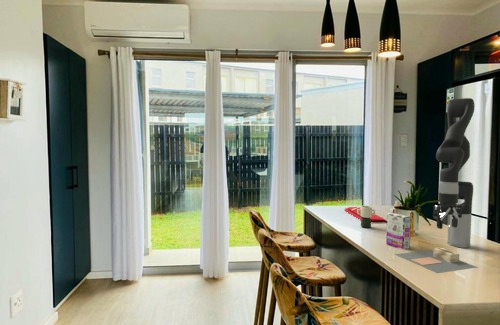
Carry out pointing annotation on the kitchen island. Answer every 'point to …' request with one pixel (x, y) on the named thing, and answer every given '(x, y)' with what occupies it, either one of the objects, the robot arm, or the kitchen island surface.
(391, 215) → the candy bar box
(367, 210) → the character mug
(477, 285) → the kitchen island surface
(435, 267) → the rubber mat
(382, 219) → the dish drying mat
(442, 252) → the maple deck block
